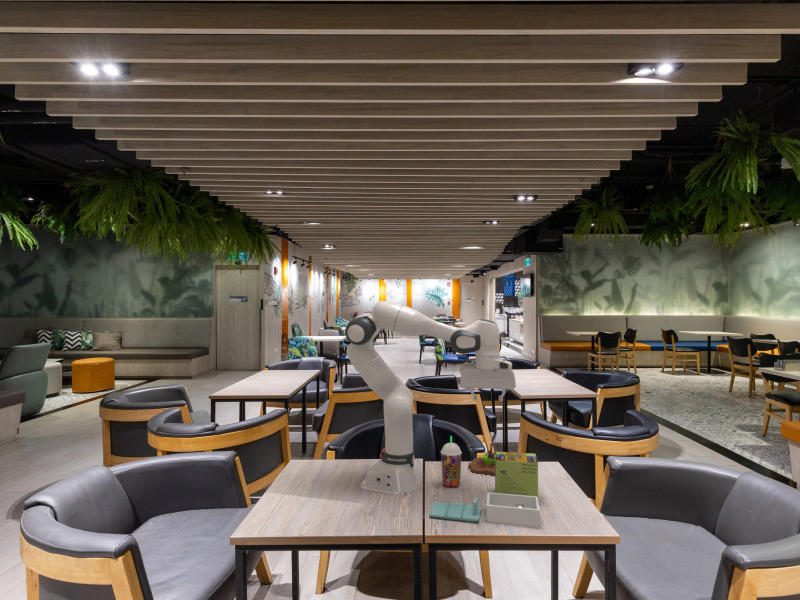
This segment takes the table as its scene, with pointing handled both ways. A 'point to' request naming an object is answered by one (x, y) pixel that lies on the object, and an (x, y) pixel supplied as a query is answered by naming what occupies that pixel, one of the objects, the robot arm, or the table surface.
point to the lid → (456, 511)
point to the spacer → (520, 505)
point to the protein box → (516, 473)
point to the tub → (513, 509)
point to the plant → (484, 463)
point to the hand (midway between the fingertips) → (487, 400)
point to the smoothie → (451, 464)
